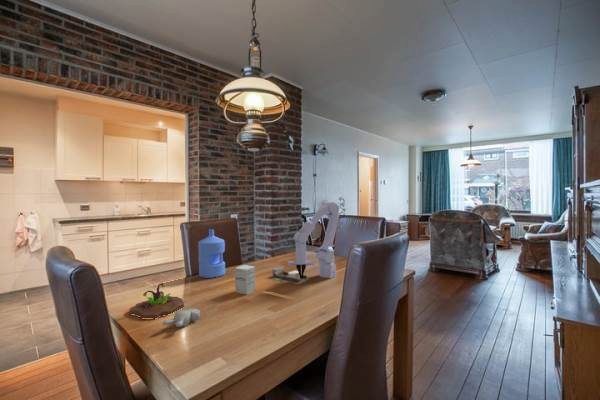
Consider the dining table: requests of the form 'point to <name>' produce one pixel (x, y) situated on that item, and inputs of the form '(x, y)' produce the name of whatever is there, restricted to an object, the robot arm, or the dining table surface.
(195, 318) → the bunny figurine
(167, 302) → the plant
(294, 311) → the dining table surface
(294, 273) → the white block with bar
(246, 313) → the dining table surface
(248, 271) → the supplement box
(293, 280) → the gauge board
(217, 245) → the water jug
